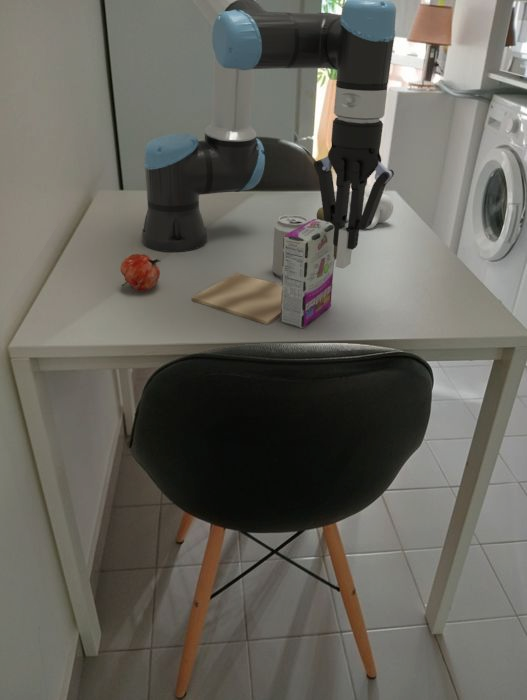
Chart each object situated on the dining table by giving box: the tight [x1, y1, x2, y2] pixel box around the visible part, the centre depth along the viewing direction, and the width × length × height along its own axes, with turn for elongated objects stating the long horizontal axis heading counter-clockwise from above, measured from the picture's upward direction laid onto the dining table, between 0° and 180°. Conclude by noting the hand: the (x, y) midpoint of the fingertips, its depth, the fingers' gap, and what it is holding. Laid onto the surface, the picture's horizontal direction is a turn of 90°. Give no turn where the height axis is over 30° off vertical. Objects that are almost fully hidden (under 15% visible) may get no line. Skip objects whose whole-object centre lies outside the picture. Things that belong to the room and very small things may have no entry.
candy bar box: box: [280, 218, 335, 329], centre depth 107 cm, size 11×5×16 cm, turn 148°
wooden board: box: [191, 272, 282, 325], centre depth 117 cm, size 17×15×1 cm
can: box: [272, 214, 310, 279], centre depth 125 cm, size 8×8×12 cm
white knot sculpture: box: [347, 186, 394, 230], centre depth 156 cm, size 11×12×9 cm
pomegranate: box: [119, 253, 161, 292], centre depth 118 cm, size 7×7×10 cm
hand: (342, 265), depth 103 cm, fingers closed
